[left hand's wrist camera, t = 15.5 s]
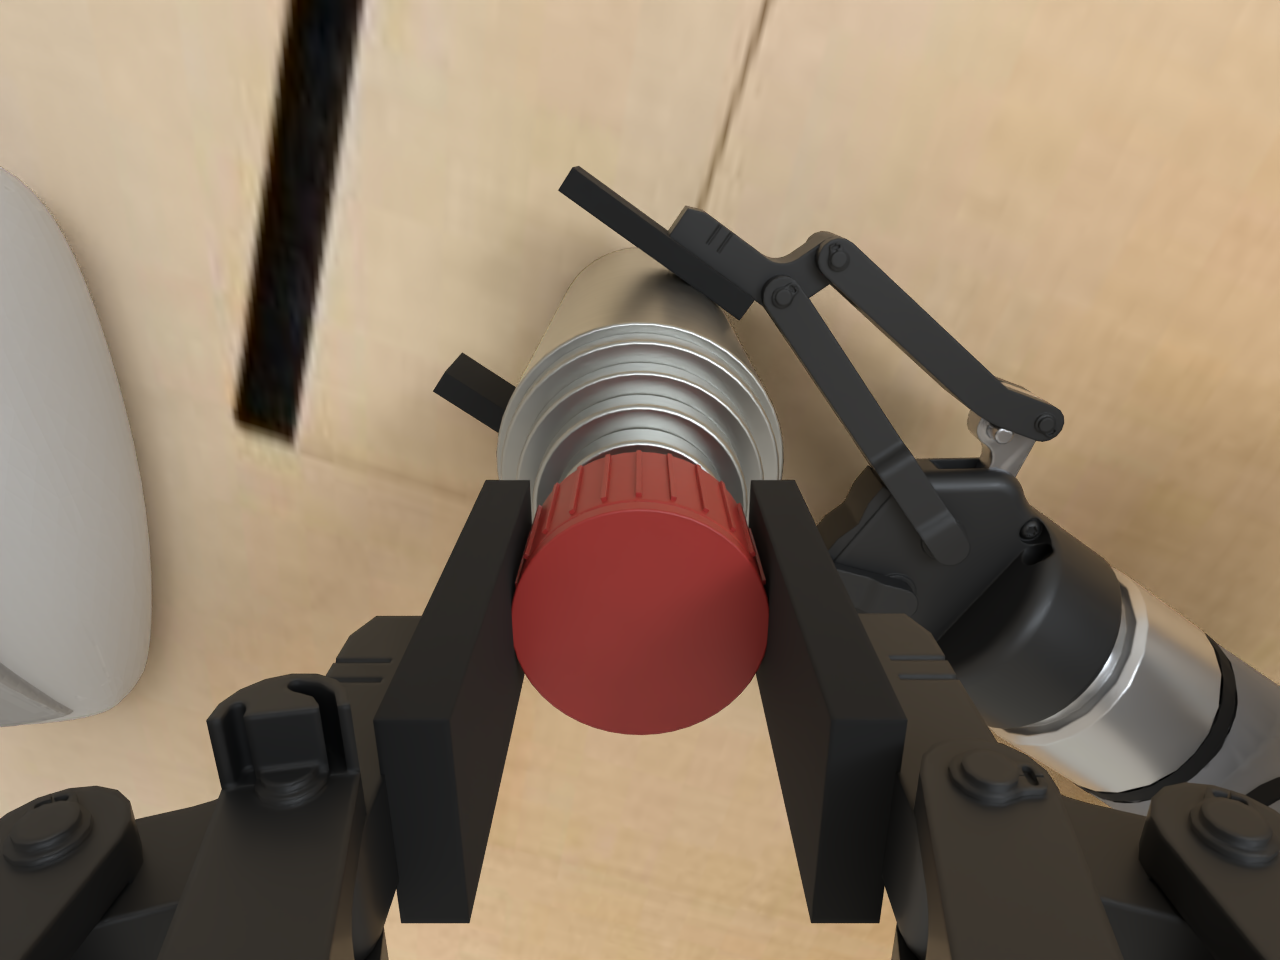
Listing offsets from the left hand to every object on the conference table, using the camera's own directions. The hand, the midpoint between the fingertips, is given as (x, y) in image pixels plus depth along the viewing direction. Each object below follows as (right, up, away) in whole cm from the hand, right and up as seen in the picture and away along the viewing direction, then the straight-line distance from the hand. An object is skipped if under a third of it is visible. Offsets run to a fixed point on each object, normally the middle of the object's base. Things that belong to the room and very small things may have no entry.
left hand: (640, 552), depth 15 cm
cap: (0, -1, -2) cm, 2 cm away
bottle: (0, +7, +18) cm, 19 cm away
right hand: (-4, +8, +11) cm, 14 cm away
